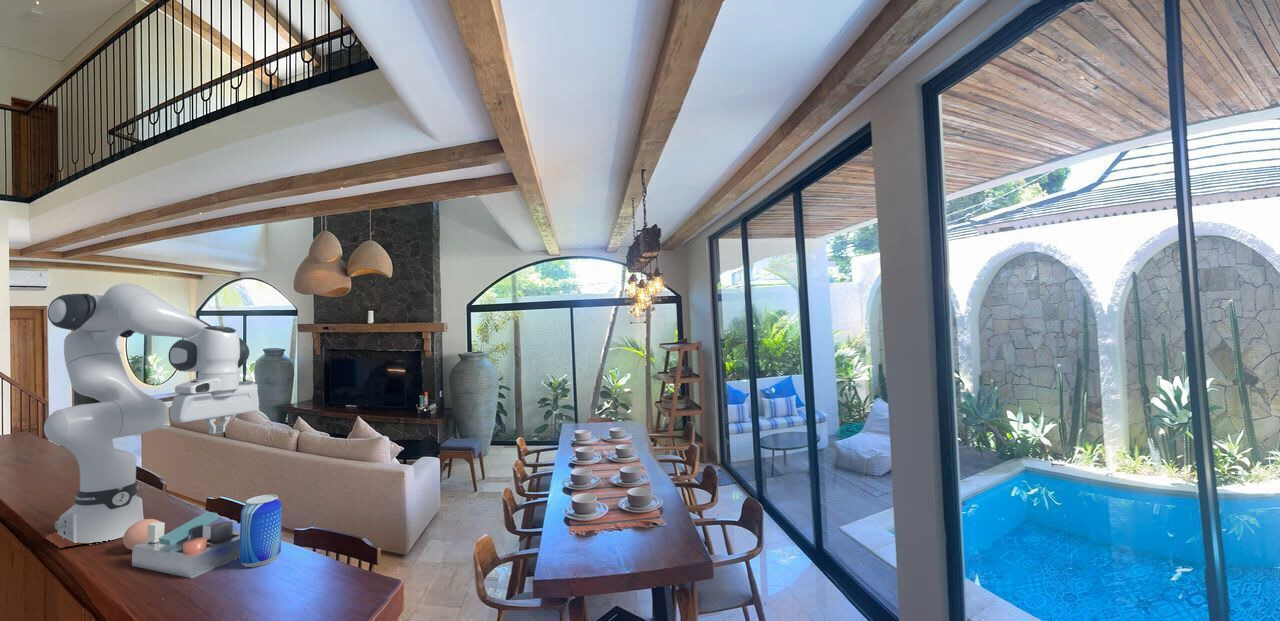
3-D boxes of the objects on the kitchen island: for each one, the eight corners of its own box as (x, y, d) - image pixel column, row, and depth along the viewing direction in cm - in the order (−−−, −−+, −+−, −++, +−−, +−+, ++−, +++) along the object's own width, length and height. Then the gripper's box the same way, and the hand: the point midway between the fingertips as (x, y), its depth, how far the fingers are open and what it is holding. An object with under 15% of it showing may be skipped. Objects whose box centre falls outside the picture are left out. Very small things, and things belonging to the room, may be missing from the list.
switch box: (131, 565, 122) (133, 532, 122) (196, 542, 135) (197, 512, 136) (191, 578, 116) (192, 543, 116) (252, 552, 129) (253, 520, 130)
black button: (205, 550, 125) (206, 527, 125) (224, 543, 129) (225, 520, 129) (217, 552, 124) (218, 529, 124) (236, 545, 128) (237, 522, 128)
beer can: (257, 570, 119) (259, 505, 120) (230, 567, 121) (232, 503, 122) (288, 555, 128) (290, 494, 128) (262, 552, 129) (264, 492, 130)
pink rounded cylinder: (177, 568, 119) (178, 543, 119) (198, 560, 123) (199, 536, 124) (190, 570, 118) (190, 546, 118) (210, 562, 122) (211, 538, 122)
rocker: (160, 543, 122) (158, 538, 122) (208, 516, 132) (206, 511, 132) (171, 545, 121) (169, 540, 121) (218, 518, 131) (217, 513, 131)
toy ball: (171, 544, 134) (172, 515, 135) (137, 557, 127) (138, 526, 127) (148, 542, 136) (149, 513, 136) (114, 554, 128) (115, 524, 128)
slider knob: (147, 541, 124) (147, 524, 124) (156, 538, 126) (157, 521, 126) (154, 543, 123) (155, 525, 124) (164, 539, 125) (164, 522, 125)
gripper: (249, 379, 146) (248, 425, 145) (167, 387, 126) (165, 440, 126) (265, 380, 144) (263, 426, 144) (183, 388, 125) (182, 441, 124)
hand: (217, 433), depth 135 cm, fingers closed
